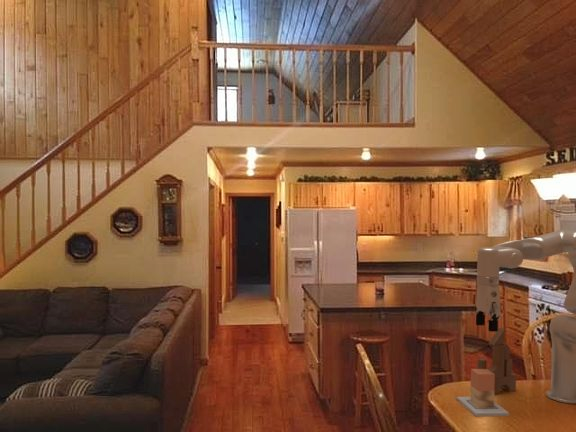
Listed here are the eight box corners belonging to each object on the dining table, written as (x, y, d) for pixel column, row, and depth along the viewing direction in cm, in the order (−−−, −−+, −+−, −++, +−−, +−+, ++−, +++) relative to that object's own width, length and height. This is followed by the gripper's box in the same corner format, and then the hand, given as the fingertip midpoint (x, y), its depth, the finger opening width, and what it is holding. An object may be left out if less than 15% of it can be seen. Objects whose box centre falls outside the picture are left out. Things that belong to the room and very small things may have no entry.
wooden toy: (501, 385, 213) (503, 324, 212) (516, 390, 207) (517, 327, 206) (475, 390, 205) (476, 327, 205) (488, 396, 200) (490, 331, 199)
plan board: (487, 399, 196) (487, 396, 196) (508, 415, 181) (509, 412, 180) (456, 399, 195) (456, 396, 195) (475, 416, 179) (475, 413, 179)
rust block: (486, 385, 191) (486, 368, 191) (494, 390, 185) (494, 374, 185) (470, 385, 191) (471, 369, 190) (478, 391, 185) (478, 374, 185)
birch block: (485, 401, 191) (486, 385, 191) (493, 407, 185) (494, 390, 185) (470, 401, 191) (470, 385, 191) (477, 407, 185) (478, 391, 185)
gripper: (509, 285, 181) (508, 333, 181) (486, 278, 198) (485, 323, 199) (489, 284, 181) (487, 333, 181) (467, 278, 198) (466, 322, 198)
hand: (486, 328), depth 190 cm, fingers open, 9 cm apart
